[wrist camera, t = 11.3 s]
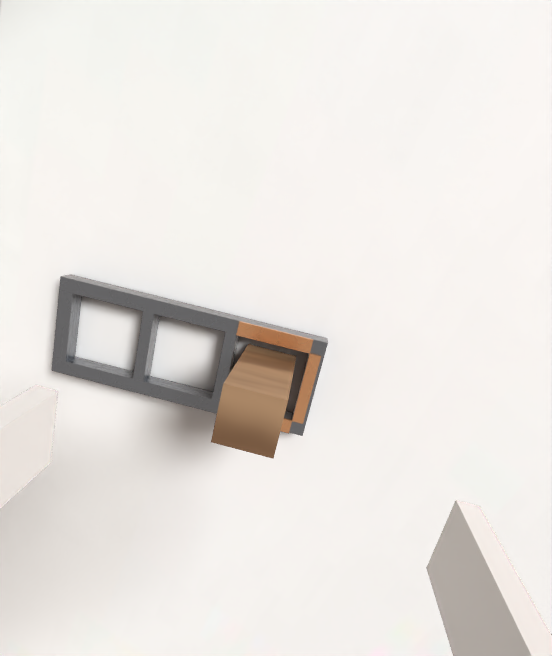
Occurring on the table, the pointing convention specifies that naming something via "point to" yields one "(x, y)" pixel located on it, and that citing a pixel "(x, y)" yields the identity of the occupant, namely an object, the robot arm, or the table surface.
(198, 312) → the rack
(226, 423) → the walnut block
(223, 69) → the table surface
